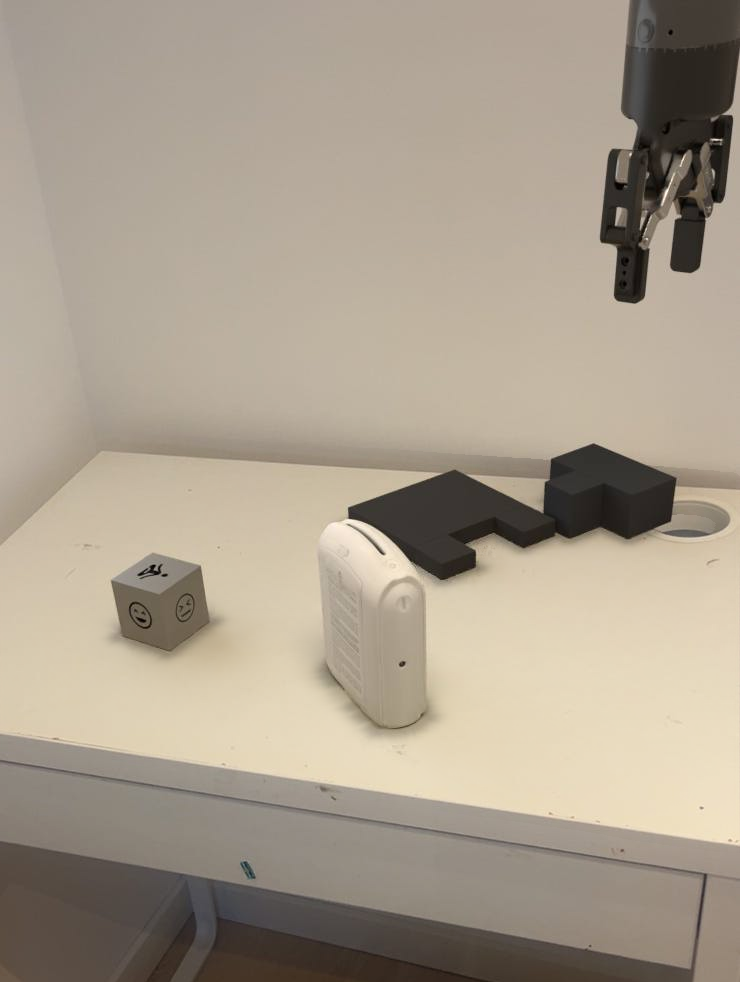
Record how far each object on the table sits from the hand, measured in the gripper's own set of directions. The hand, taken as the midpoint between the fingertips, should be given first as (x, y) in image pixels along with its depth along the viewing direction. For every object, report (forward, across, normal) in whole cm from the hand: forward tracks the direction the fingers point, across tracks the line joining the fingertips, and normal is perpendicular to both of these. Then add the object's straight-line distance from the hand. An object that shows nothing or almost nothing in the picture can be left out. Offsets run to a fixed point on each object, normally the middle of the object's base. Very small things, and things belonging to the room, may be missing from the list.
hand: (657, 285), depth 89 cm
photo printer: (+19, -34, +2) cm, 39 cm away
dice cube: (+19, -36, +21) cm, 46 cm away
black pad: (+19, -10, +12) cm, 25 cm away
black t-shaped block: (+19, -2, +3) cm, 19 cm away
